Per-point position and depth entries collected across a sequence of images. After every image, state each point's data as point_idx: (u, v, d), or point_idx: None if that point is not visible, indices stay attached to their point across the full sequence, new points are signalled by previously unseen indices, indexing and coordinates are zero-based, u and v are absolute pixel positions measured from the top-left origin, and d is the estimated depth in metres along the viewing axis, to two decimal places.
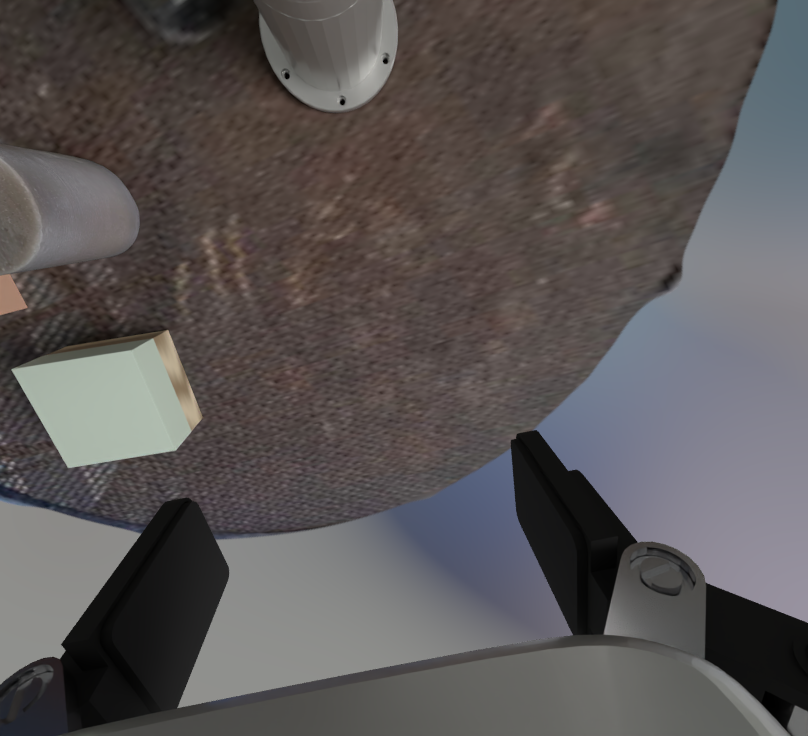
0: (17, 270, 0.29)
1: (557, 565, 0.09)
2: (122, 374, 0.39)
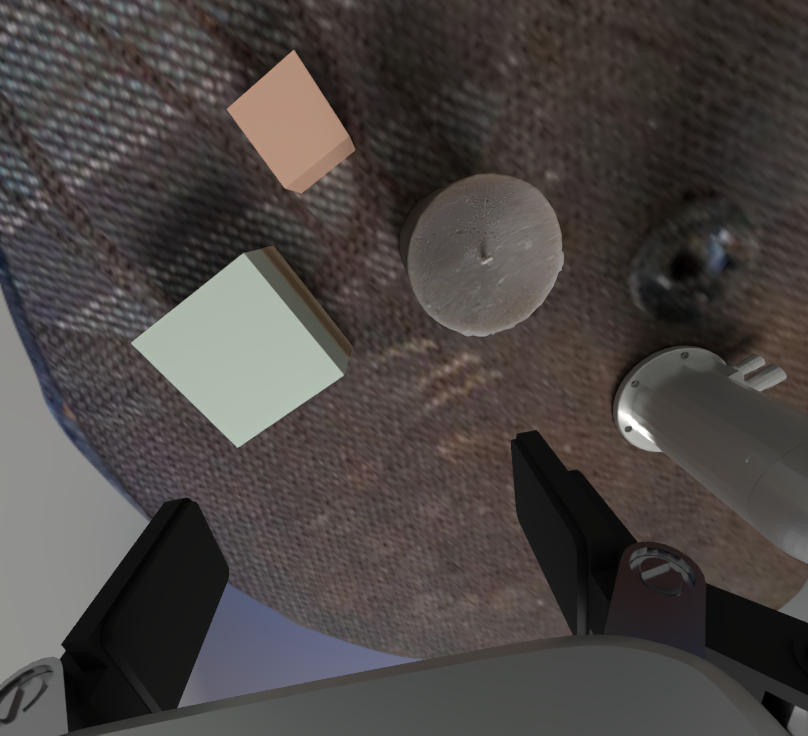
0: (431, 316, 0.25)
1: (557, 565, 0.09)
2: (308, 373, 0.32)
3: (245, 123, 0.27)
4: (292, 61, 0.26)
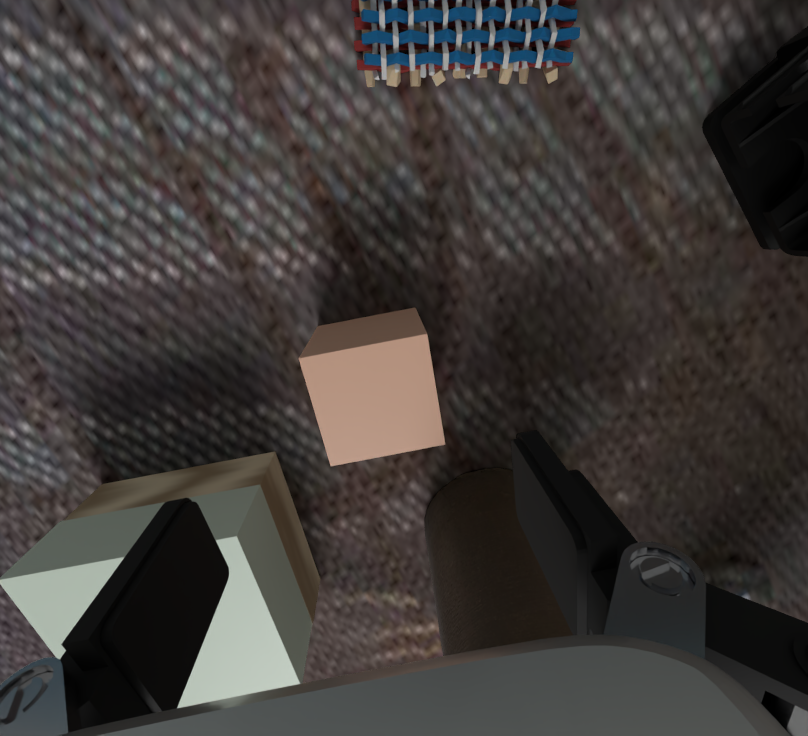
0: None
1: (557, 565, 0.09)
2: (254, 674, 0.22)
3: (316, 383, 0.18)
4: (418, 344, 0.18)
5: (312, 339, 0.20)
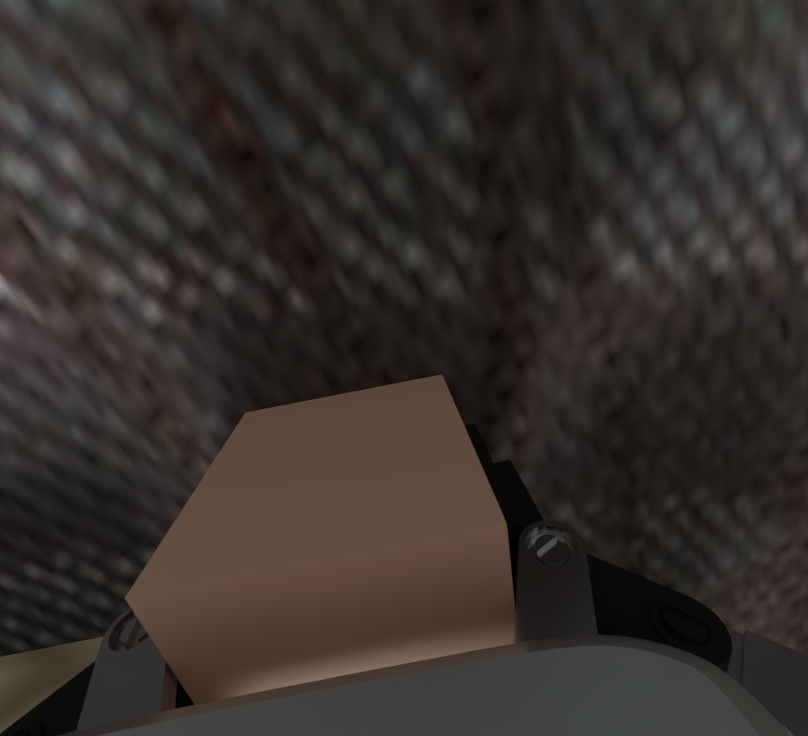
0: None
1: None
2: None
3: (188, 648, 0.06)
4: (478, 549, 0.06)
5: (210, 475, 0.09)
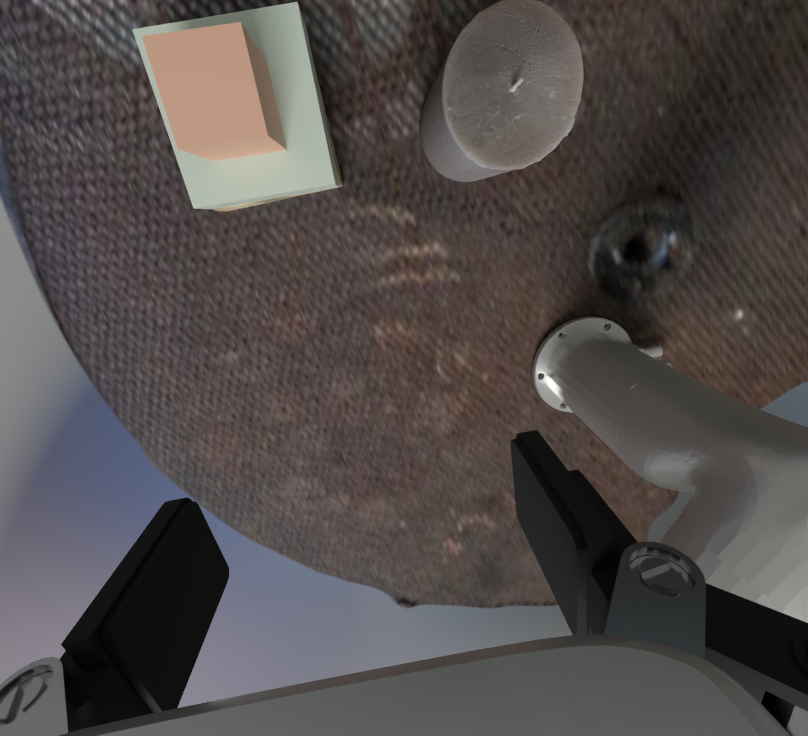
0: (446, 122, 0.26)
1: (557, 565, 0.09)
2: (302, 163, 0.31)
3: (157, 62, 0.23)
4: (235, 31, 0.23)
5: None
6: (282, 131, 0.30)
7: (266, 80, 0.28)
